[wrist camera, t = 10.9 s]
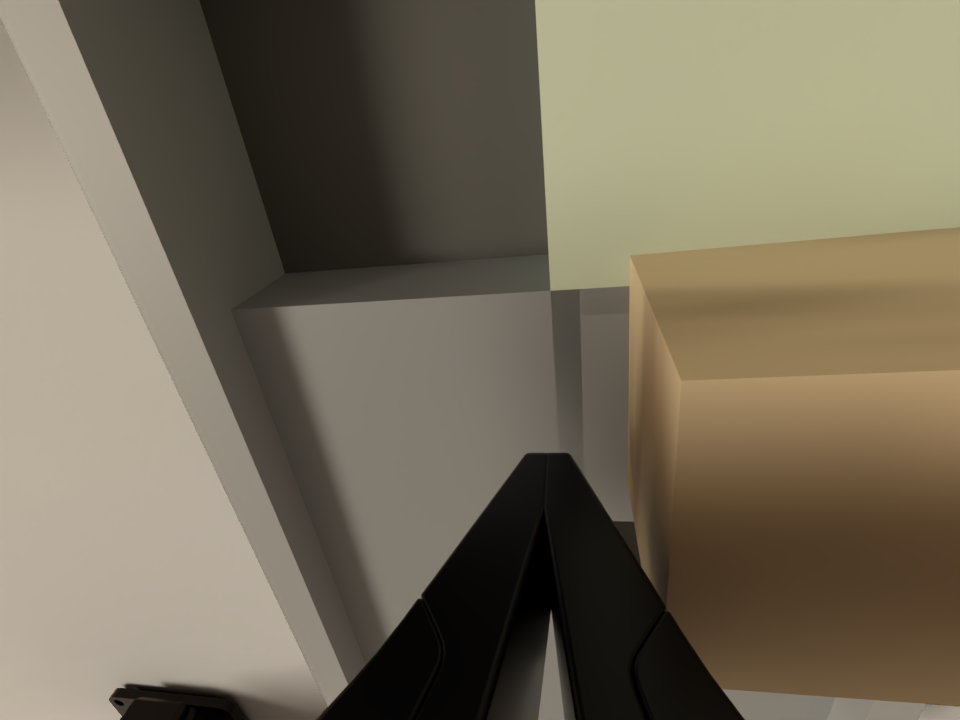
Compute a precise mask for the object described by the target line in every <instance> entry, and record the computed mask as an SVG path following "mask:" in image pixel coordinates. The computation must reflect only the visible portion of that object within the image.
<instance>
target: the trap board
mask: <svg viewBox="0 0 960 720" xmlns="http://www.w3.org/2000/svg"><path fill="white" fill-rule="evenodd" d="M0 18H1V20H2V22H3V24H4V26H5V29H6V31H7V33H8V35H9V37H10V39H11V41H12V43H13V45H14V48H15V50H16V52H17V54H18V56H19V58H20V60H21V62H22V64H23V66H24V69H25V71H26V73H27V75H28V77H29V79H30V81H31V83H32V85H33V88H34V90H35V92H36V94H37V96H38V98H39V100H40V102H41V104H42V106H43V109H44V111H45V113H46V115H47V117H48V119H49V121H50V123H51V125H52V128H53V130H54V132H55V134H56V136H57V138H58V140H59V142H60V144H61V146H62V149H63V151H64V153H65V155H66V157H67V159H68V161H69V163H70V165H71V168H72V170H73V172H74V174H75V176H76V178H77V180H78V182H79V184H80V186H81V189H82V191H83V193H84V195H85V197H86V199H87V201H88V203H89V205H90V208H91V210H92V212H93V214H94V216H95V218H96V220H97V222H98V224H99V226H100V229H101V231H102V233H103V235H104V237H105V239H106V241H107V243H108V245H109V248H110V250H111V252H112V254H113V256H114V258H115V260H116V262H117V264H118V266H119V269H120V271H121V273H122V275H123V277H124V279H125V281H126V283H127V285H128V288H129V290H130V292H131V294H132V296H133V298H134V300H135V302H136V304H137V307H138V309H139V311H140V313H141V315H142V317H143V319H144V321H145V323H146V325H147V328H148V330H149V332H150V334H151V336H152V338H153V340H154V342H155V344H156V347H157V349H158V351H159V353H160V355H161V357H162V359H163V361H164V363H165V365H166V368H167V370H168V372H169V374H170V376H171V378H172V380H173V382H174V384H175V387H176V389H177V391H178V393H179V395H180V397H181V399H182V401H183V403H184V405H185V408H186V410H187V412H188V414H189V416H190V418H191V420H192V422H193V424H194V427H195V429H196V431H197V433H198V435H199V437H200V439H201V441H202V443H203V445H204V448H205V450H206V452H207V454H208V456H209V458H210V460H211V462H212V464H213V467H214V469H215V471H216V473H217V475H218V477H219V479H220V481H221V483H222V485H223V488H224V490H225V492H226V494H227V496H228V498H229V500H230V502H231V504H232V507H233V509H234V511H235V513H236V515H237V517H238V519H239V521H240V523H241V525H242V528H243V530H244V532H245V534H246V536H247V538H248V540H249V542H250V544H251V547H252V549H253V551H254V553H255V555H256V557H257V559H258V561H259V563H260V565H261V568H262V570H263V572H264V574H265V576H266V578H267V580H268V582H269V584H270V587H271V589H272V591H273V593H274V595H275V597H276V599H277V601H278V603H279V605H280V608H281V610H282V612H283V614H284V616H285V618H286V620H287V622H288V624H289V627H290V629H291V631H292V633H293V635H294V637H295V639H296V641H297V643H298V645H299V648H300V650H301V652H302V654H303V656H304V658H305V660H306V662H307V664H308V667H309V669H310V671H311V673H312V675H313V677H314V679H315V681H316V683H317V685H318V688H319V690H320V692H321V694H322V696H323V698H324V700H325V702H326V704H327V707H328V706H329V705H330V704H331V703H332V702H333V700H334V699H335V698H336V697H337V696H338V695H339V694H340V693H341V692H342V691H343V690H344V688H345V687H346V686H347V685H348V684H349V683H350V682H351V681H352V680H353V678H354V677H355V676H356V675H357V674H358V673H359V672H360V670H361V669H362V668H363V667H364V666H365V665H366V664H367V662H368V661H369V660H370V659H371V658H372V657H373V656H374V654H375V653H376V652H377V651H378V650H379V649H380V647H381V646H382V645H383V644H384V642H385V641H386V640H387V638H388V637H389V636H390V635H391V633H392V632H393V631H394V630H395V628H396V627H397V626H398V624H399V623H400V622H401V621H402V619H403V618H404V617H405V615H406V614H407V613H408V611H409V610H410V609H411V607H412V606H413V604H414V603H415V602H416V600H417V599H419V598H421V594H422V593H423V591H424V590H425V589H426V587H427V586H428V585H429V583H430V582H431V581H432V579H433V578H434V577H435V575H436V574H437V572H438V571H439V570H440V568H441V567H442V566H443V564H444V563H445V562H446V560H447V559H448V558H449V556H450V555H451V554H452V552H453V551H454V550H455V548H456V547H457V545H458V544H459V543H460V541H461V540H462V539H463V537H464V536H465V535H466V533H467V532H468V531H469V529H470V528H471V527H472V525H473V524H474V523H475V521H476V520H477V519H478V517H479V516H480V514H481V513H482V512H483V510H484V509H485V508H486V506H487V505H488V504H489V502H490V501H491V500H492V498H493V497H494V496H495V494H496V493H497V492H498V490H499V489H500V487H501V486H502V485H503V483H504V482H505V481H506V479H507V478H508V477H509V475H510V474H511V473H512V471H513V470H514V469H515V467H516V466H517V465H518V463H519V462H520V460H521V459H522V458H523V456H524V455H525V454H527V453H569V454H570V455H571V456H572V457H573V459H574V460H575V462H576V463H577V465H578V467H579V468H580V470H581V471H582V473H583V475H584V476H585V478H586V479H587V481H588V483H589V484H590V486H591V487H592V489H593V491H594V492H595V494H596V495H597V497H598V498H599V500H600V502H601V503H602V505H603V506H604V508H605V510H606V511H607V513H608V514H609V516H610V518H611V519H612V521H613V522H614V524H615V526H616V527H617V529H618V530H619V532H620V534H621V535H622V537H623V538H624V540H625V541H626V543H627V545H628V546H629V548H630V549H631V551H632V553H633V554H634V556H635V557H636V559H637V561H638V562H639V564H640V565H641V561H640V555H639V549H638V543H637V537H636V532H635V526H634V520H633V514H632V508H631V502H630V496H629V490H628V410H629V291H630V255H641V254H652V253H664V252H676V251H687V250H699V249H711V248H722V247H734V246H746V245H757V244H769V243H781V242H792V241H804V240H816V239H827V238H839V237H851V236H862V235H874V234H886V233H897V232H909V231H921V230H932V229H944V228H956V227H960V0H0ZM722 690H723V691H724V692H725V694H726V695H727V696H728V698H729V699H730V700H731V702H732V703H733V704H734V706H735V707H736V708H737V710H738V711H739V712H740V714H741V715H742V716H743V718H744V719H745V720H918V718H919V716H920V714H921V712H922V711H923V709H924V707H925V705H926V704H921V703H907V702H893V701H879V700H865V699H851V698H838V697H824V696H810V695H796V694H782V693H768V692H754V691H740V690H726V689H722ZM538 720H565V719H564V711H563V703H562V694H561V686H560V678H559V670H558V662H557V654H556V645H555V637H554V629H553V621H552V613H551V615H550V624H549V632H548V641H547V649H546V658H545V666H544V675H543V683H542V692H541V700H540V708H539V717H538Z"/></svg>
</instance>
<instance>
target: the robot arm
mask: <svg viewBox="0 0 960 720" xmlns="http://www.w3.org/2000/svg"><path fill="white" fill-rule="evenodd" d="M551 613H552V621H553V629H554V637H555V645H556V654H557V662H558V670H559V678H560V686H561V694H562V703H563V711H564V719H565V720H745V719H744V718H743V716H742V715H741V714H740V712H739V711H738V710H737V708H736V707H735V706H734V704H733V703H732V702H731V700H730V699H729V698H728V696H727V695H726V694H725V692H724V691H723V690H722V688H721V687H720V686H719V684H718V683H717V682H716V680H715V679H714V678H713V676H712V675H711V674H710V672H709V671H708V669H707V668H706V666H705V665H704V663H703V662H702V660H701V659H700V657H699V656H698V654H697V653H696V651H695V650H694V648H693V647H692V645H691V644H690V642H689V641H688V639H687V638H686V636H685V635H684V633H683V632H682V630H681V628H680V627H679V625H678V624H677V622H676V621H675V619H674V617H673V616H672V614H671V613H670V612H669V611H667V607H666V605H665V604H664V602H663V600H662V599H661V597H660V596H659V594H658V592H657V591H656V589H655V588H654V586H653V584H652V583H651V581H650V580H649V578H648V576H647V575H646V573H645V572H644V570H643V569H642V567H641V565H640V564H639V562H638V561H637V559H636V557H635V556H634V554H633V553H632V551H631V549H630V548H629V546H628V545H627V543H626V541H625V540H624V538H623V537H622V535H621V534H620V532H619V530H618V529H617V527H616V526H615V524H614V522H613V521H612V519H611V518H610V516H609V514H608V513H607V511H606V510H605V508H604V506H603V505H602V503H601V502H600V500H599V498H598V497H597V495H596V494H595V492H594V491H593V489H592V487H591V486H590V484H589V483H588V481H587V479H586V478H585V476H584V475H583V473H582V471H581V470H580V468H579V467H578V465H577V463H576V462H575V460H574V459H573V457H572V456H571V455H570V454H569V453H527V454H525V455H524V456H523V458H522V459H521V460H520V462H519V463H518V465H517V466H516V467H515V469H514V470H513V471H512V473H511V474H510V475H509V477H508V478H507V479H506V481H505V482H504V483H503V485H502V486H501V487H500V489H499V490H498V492H497V493H496V494H495V496H494V497H493V498H492V500H491V501H490V502H489V504H488V505H487V506H486V508H485V509H484V510H483V512H482V513H481V514H480V516H479V517H478V519H477V520H476V521H475V523H474V524H473V525H472V527H471V528H470V529H469V531H468V532H467V533H466V535H465V536H464V537H463V539H462V540H461V541H460V543H459V544H458V545H457V547H456V548H455V550H454V551H453V552H452V554H451V555H450V556H449V558H448V559H447V560H446V562H445V563H444V564H443V566H442V567H441V568H440V570H439V571H438V572H437V574H436V575H435V577H434V578H433V579H432V581H431V582H430V583H429V585H428V586H427V587H426V589H425V590H424V591H423V593H422V594H421V598H419V599H417V600H416V602H415V603H414V604H413V606H412V607H411V609H410V610H409V611H408V613H407V614H406V615H405V617H404V618H403V619H402V621H401V622H400V623H399V624H398V626H397V627H396V628H395V630H394V631H393V632H392V633H391V635H390V636H389V637H388V638H387V640H386V641H385V642H384V644H383V645H382V646H381V647H380V649H379V650H378V651H377V652H376V653H375V654H374V656H373V657H372V658H371V659H370V660H369V661H368V662H367V664H366V665H365V666H364V667H363V668H362V669H361V670H360V672H359V673H358V674H357V675H356V676H355V677H354V678H353V680H352V681H351V682H350V683H349V684H348V685H347V686H346V687H345V688H344V690H343V691H342V692H341V693H340V694H339V695H338V696H337V697H336V698H335V699H334V700H333V702H332V703H331V704H330V705H329V706H328V707H327V708H326V709H325V710H324V711H323V712H322V714H321V715H320V716H319V717H318V718H317V719H316V720H538V717H539V708H540V700H541V692H542V683H543V675H544V666H545V658H546V649H547V641H548V632H549V624H550V615H551ZM109 701H110V702H111V703H112V705H113V706H114V707H115V708H116V709H117V711H118V712H119V713H120V714H121V715H122V717H121V719H120V720H245V719H244V717H243V716H242V714H241V713H240V711H239V710H238V708H237V706H236V705H235V704H234V703H233V702H231V701H229V700H227V699H223V698H213V697H203V696H194V695H184V694H174V693H164V692H154V691H144V690H134V689H124V688H117V689H116V690H115V691H114V693H113V694H112V695H111V697H110V698H109Z"/></svg>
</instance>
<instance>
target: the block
mask: <svg viewBox="0 0 960 720" xmlns="http://www.w3.org/2000/svg"><path fill="white" fill-rule="evenodd" d="M628 490H629V496H630V502H631V508H632V514H633V520H634V526H635V532H636V537H637V543H638V549H639V555H640V561H641V567H642V569H643V570H644V572H645V573H646V575H647V576H648V578H649V580H650V581H651V583H652V584H653V586H654V588H655V589H656V591H657V592H658V594H659V596H660V597H661V599H662V600H663V602H664V604H665V605H666V607H667V611H669V612H670V613H671V614H672V616H673V617H674V619H675V621H676V622H677V624H678V625H679V627H680V628H681V630H682V632H683V633H684V635H685V636H686V638H687V639H688V641H689V642H690V644H691V645H692V647H693V648H694V650H695V651H696V653H697V654H698V656H699V657H700V659H701V660H702V662H703V663H704V665H705V666H706V668H707V669H708V671H709V672H710V674H711V675H712V676H713V678H714V679H715V680H716V682H717V683H718V684H719V686H720V687H721V688H722V689H726V690H740V691H754V692H768V693H782V694H796V695H810V696H824V697H838V698H851V699H865V700H879V701H893V702H907V703H921V704H935V705H949V706H960V227H956V228H944V229H932V230H921V231H909V232H897V233H886V234H874V235H862V236H851V237H839V238H827V239H816V240H804V241H792V242H781V243H769V244H757V245H746V246H734V247H722V248H711V249H699V250H687V251H676V252H664V253H652V254H641V255H630V291H629V410H628Z"/></svg>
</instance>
